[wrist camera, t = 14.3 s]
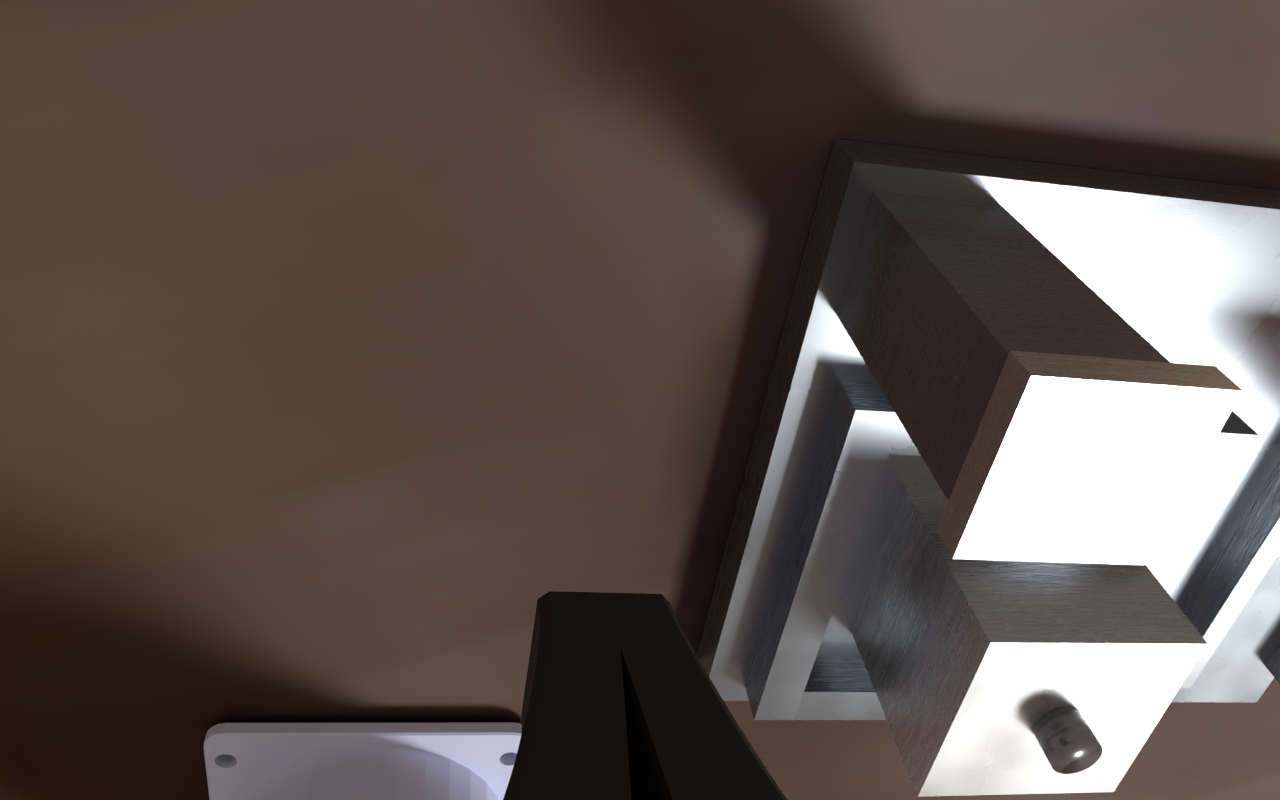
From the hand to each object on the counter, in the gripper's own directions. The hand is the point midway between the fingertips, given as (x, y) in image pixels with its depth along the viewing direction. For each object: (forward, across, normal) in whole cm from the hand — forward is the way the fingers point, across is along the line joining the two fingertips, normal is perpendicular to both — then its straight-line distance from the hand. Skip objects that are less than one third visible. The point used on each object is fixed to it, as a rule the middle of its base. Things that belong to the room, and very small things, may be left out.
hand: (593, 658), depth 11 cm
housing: (+9, -10, +6) cm, 15 cm away
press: (+10, -13, +4) cm, 17 cm away
